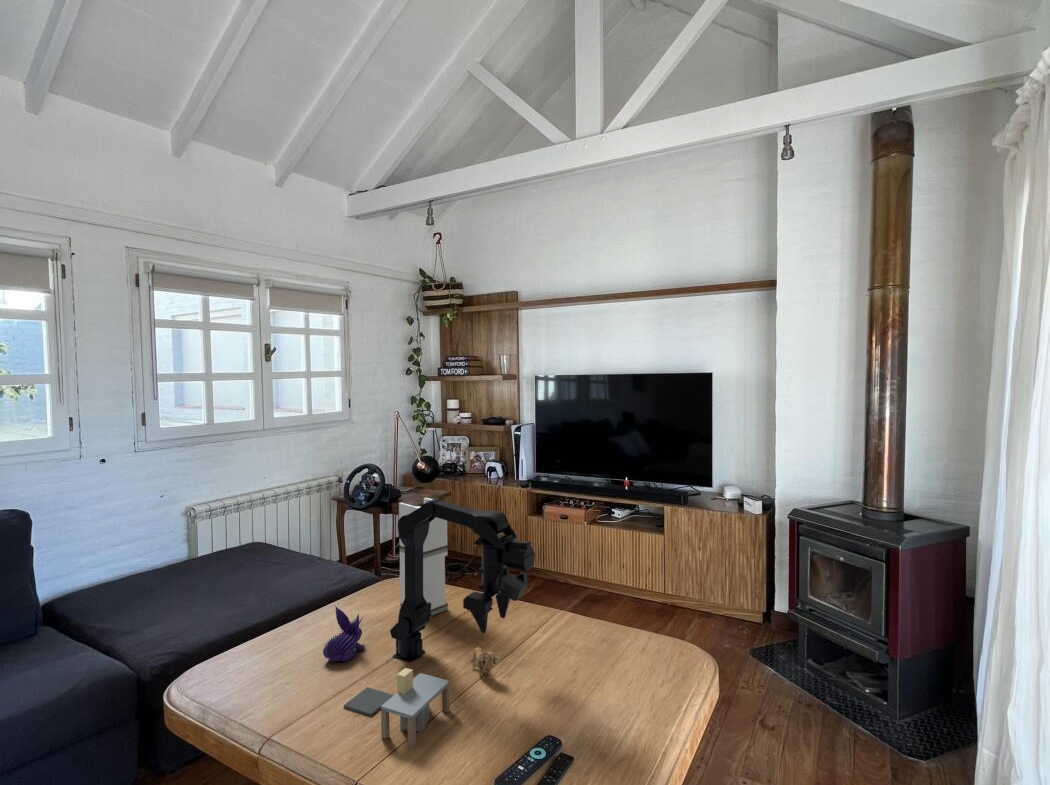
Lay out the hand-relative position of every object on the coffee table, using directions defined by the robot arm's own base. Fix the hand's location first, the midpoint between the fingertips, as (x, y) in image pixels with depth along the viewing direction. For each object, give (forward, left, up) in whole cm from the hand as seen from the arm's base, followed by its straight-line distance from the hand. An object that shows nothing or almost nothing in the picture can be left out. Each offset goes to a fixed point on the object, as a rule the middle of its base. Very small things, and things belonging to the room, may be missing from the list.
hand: (493, 625), depth 138 cm
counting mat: (-22, -21, -14) cm, 33 cm away
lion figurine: (-4, +1, -14) cm, 15 cm away
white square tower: (-40, +27, -14) cm, 50 cm away
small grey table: (-7, -23, -14) cm, 27 cm away
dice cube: (-8, -23, -14) cm, 28 cm away
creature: (-43, -5, -14) cm, 46 cm away
